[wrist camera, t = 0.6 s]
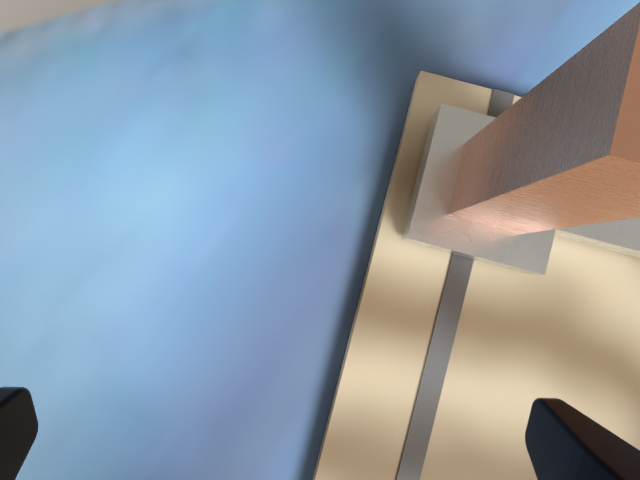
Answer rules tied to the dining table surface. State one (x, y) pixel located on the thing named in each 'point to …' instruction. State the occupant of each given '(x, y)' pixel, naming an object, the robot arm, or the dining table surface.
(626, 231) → the slider
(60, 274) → the dining table surface
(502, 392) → the press base
